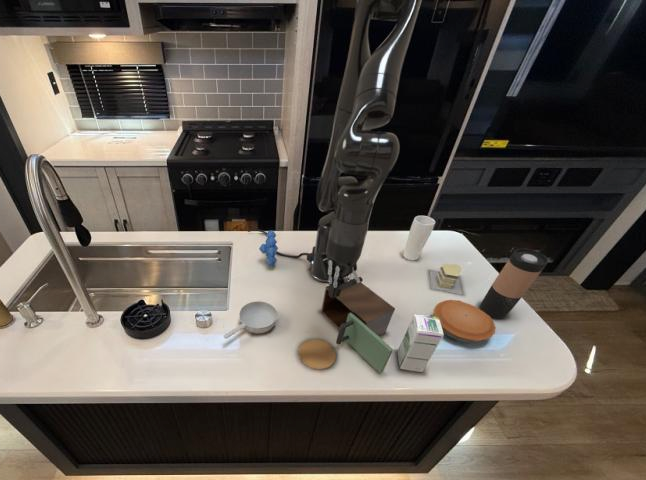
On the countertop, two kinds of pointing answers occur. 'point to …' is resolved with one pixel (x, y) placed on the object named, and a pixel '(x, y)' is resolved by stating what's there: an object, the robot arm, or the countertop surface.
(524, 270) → the travel mug
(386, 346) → the cupboard door
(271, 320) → the grey frying pan
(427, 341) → the syrup box
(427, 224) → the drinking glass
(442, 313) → the pie
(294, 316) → the countertop surface
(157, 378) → the countertop surface
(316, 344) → the cork mat
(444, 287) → the stacked layers on plate
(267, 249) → the grapes
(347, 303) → the cupboard
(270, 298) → the countertop surface
